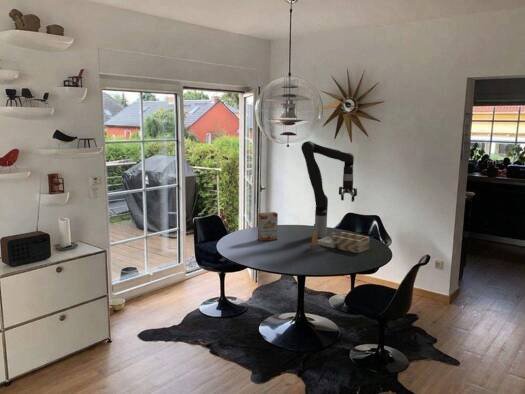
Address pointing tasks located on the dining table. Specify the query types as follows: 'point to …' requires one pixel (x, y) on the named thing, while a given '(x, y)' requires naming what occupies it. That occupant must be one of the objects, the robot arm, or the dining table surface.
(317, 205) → the robot arm
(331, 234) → the chip
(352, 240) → the channel block
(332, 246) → the chip tray
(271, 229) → the cracker box
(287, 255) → the dining table surface
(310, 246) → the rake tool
